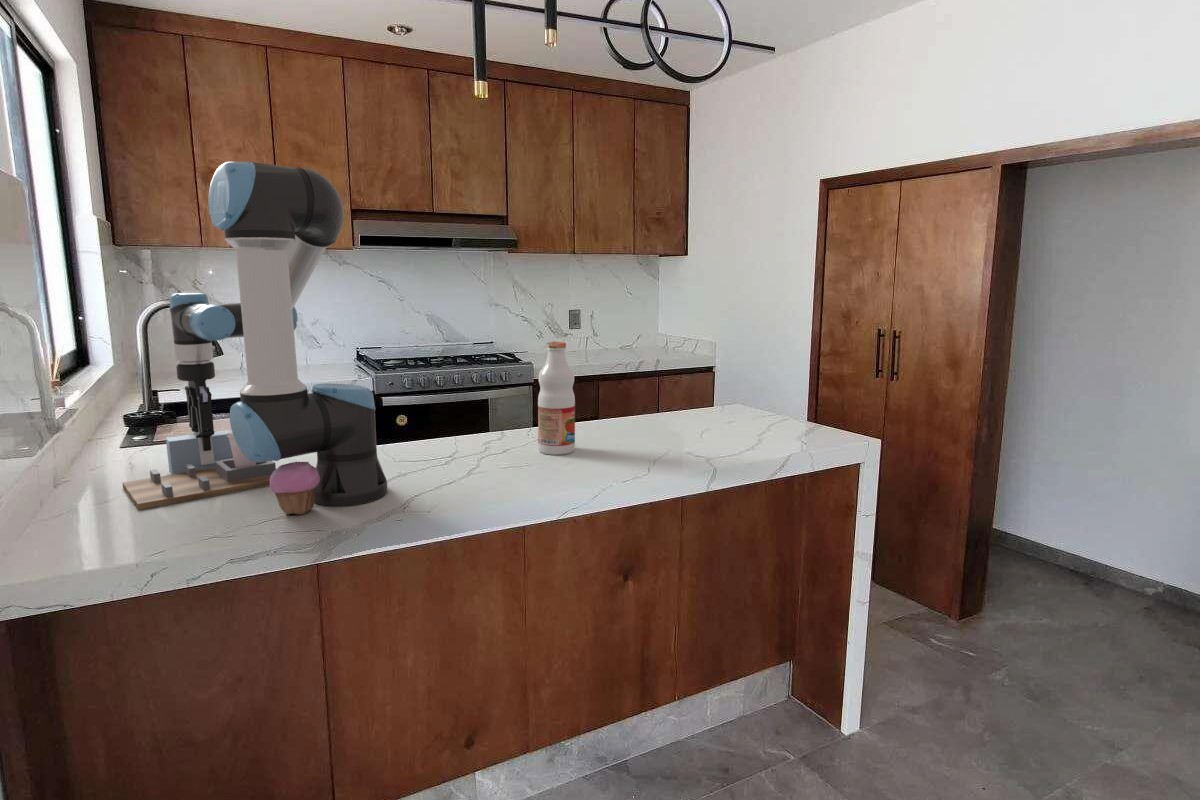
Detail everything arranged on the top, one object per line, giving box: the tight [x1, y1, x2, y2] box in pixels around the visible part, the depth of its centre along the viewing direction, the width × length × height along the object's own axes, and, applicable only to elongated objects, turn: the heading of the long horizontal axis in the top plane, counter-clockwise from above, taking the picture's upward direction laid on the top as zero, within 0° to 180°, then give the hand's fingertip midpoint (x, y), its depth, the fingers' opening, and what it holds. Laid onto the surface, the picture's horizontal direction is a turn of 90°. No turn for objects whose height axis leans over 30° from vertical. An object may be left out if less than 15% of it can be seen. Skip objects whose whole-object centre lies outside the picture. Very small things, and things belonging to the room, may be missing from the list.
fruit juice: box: [537, 341, 576, 456], centre depth 184 cm, size 9×9×28 cm
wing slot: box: [149, 464, 210, 497], centre depth 152 cm, size 16×8×2 cm, turn 41°
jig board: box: [121, 468, 271, 511], centre depth 156 cm, size 18×28×1 cm, turn 131°
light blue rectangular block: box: [165, 429, 233, 475], centre depth 167 cm, size 14×4×8 cm, turn 129°
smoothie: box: [227, 429, 256, 468], centre depth 159 cm, size 6×6×14 cm
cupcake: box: [269, 461, 320, 515], centre depth 138 cm, size 9×9×10 cm
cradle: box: [215, 459, 277, 482], centre depth 160 cm, size 10×10×2 cm
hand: (204, 461), depth 168 cm, fingers closed on light blue rectangular block, 5 cm apart
